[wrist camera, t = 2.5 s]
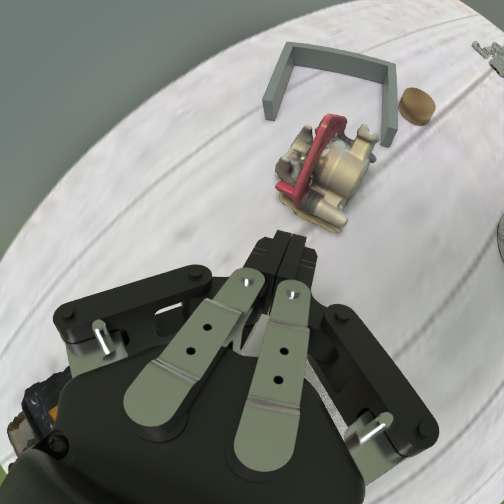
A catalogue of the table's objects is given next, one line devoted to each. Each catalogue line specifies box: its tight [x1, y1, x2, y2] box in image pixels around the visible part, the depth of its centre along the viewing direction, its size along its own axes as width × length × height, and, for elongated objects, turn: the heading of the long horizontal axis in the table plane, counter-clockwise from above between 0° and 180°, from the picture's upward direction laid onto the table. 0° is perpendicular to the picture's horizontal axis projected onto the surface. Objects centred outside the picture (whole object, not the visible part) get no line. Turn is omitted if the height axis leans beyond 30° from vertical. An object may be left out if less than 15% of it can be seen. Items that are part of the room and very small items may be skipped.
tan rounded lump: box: [399, 88, 435, 126], centre depth 29 cm, size 5×5×3 cm
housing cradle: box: [262, 42, 398, 147], centre depth 31 cm, size 16×14×4 cm
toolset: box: [7, 366, 72, 473], centre depth 23 cm, size 40×20×27 cm
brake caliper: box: [275, 114, 379, 232], centre depth 27 cm, size 11×11×12 cm
